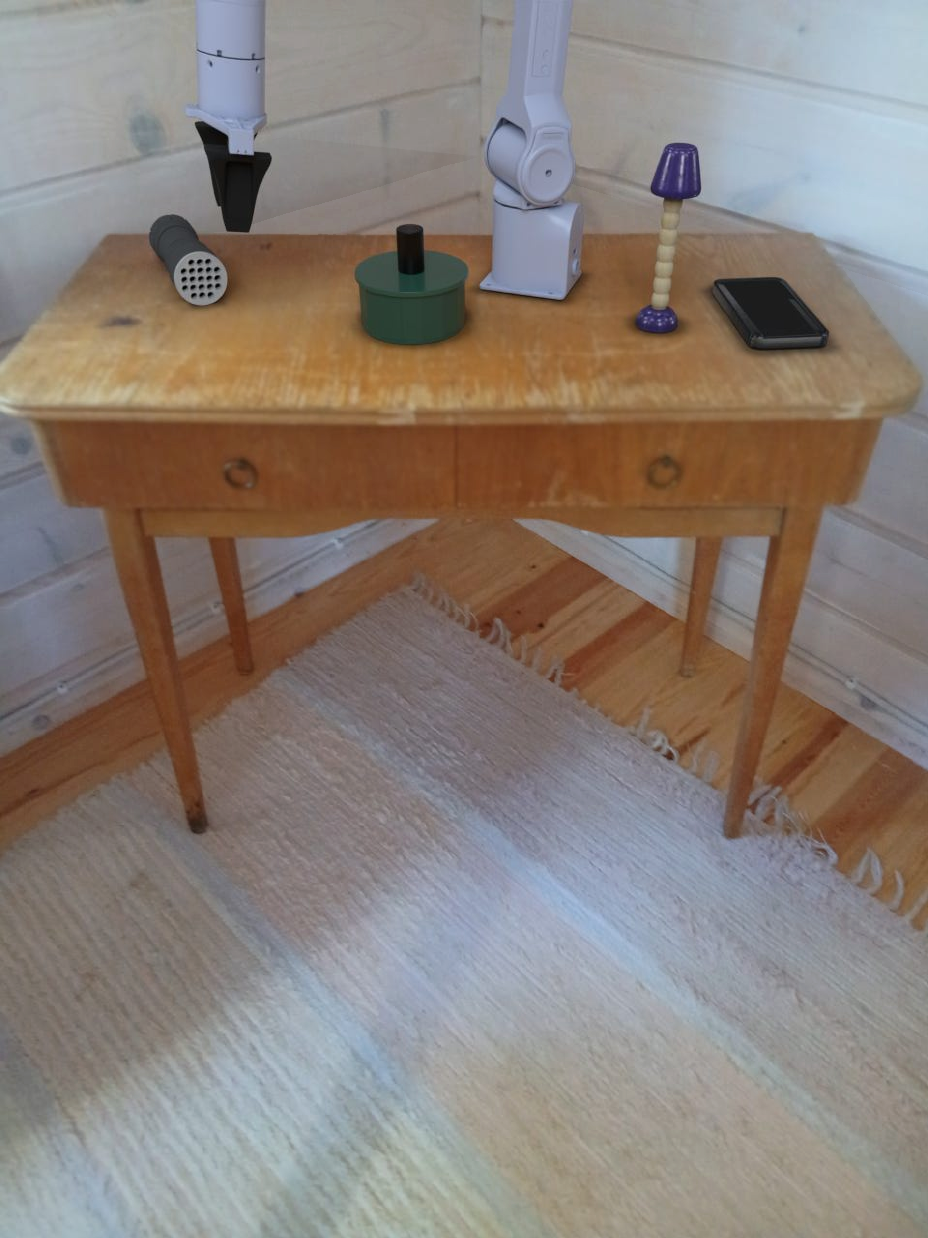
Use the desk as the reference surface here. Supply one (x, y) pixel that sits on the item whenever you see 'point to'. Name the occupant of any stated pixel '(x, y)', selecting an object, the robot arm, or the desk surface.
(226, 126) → the robot arm
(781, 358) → the desk surface
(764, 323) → the phone
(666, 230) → the toy lamp
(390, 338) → the pot
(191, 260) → the flashlight
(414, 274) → the lid
